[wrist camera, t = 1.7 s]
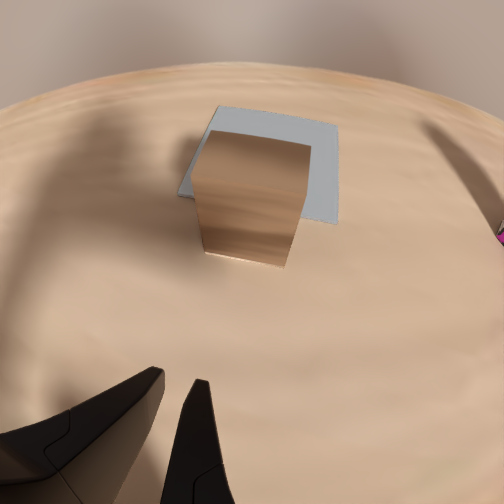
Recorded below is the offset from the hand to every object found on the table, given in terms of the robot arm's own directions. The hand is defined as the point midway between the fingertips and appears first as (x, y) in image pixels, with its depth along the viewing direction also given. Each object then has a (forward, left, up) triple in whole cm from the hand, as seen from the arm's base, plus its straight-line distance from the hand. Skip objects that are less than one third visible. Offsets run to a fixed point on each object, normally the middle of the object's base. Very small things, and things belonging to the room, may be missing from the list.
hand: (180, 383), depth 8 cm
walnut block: (+10, +10, -14) cm, 19 cm away
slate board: (+18, +18, -14) cm, 28 cm away
